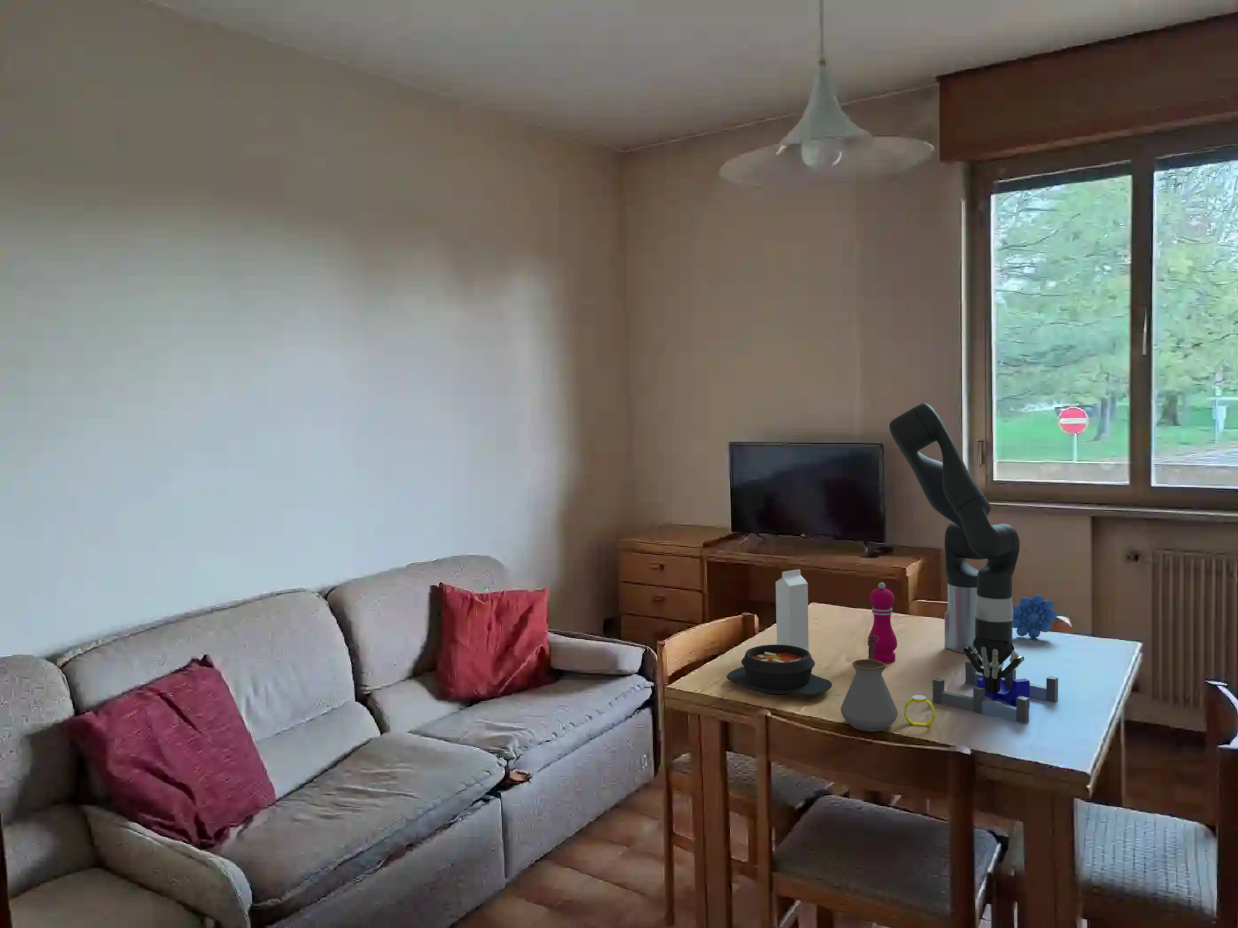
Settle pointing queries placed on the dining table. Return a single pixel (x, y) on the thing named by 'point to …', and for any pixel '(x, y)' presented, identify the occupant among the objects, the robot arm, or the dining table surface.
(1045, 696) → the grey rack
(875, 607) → the pepper mill
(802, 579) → the milk
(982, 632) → the robot arm
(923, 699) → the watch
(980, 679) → the blue curved block
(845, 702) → the coffee pot
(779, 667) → the casserole
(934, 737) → the dining table surface
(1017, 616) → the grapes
